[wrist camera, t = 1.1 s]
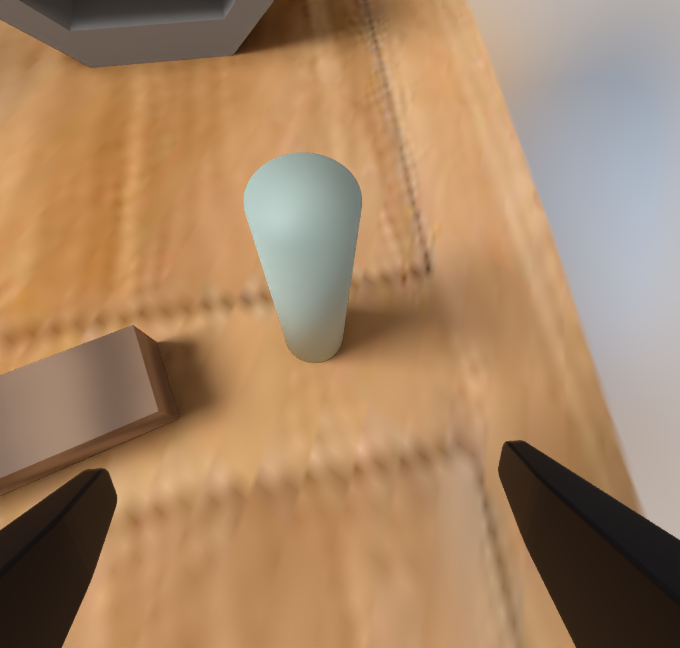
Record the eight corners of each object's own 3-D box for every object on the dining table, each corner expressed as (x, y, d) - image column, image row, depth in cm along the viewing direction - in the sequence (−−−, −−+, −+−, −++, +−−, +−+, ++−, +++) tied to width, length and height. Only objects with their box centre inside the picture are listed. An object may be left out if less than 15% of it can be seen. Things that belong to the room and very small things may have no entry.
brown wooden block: (156, 341, 23) (133, 324, 20) (179, 418, 22) (158, 411, 19) (-140, 457, 20) (-215, 456, 18) (-137, 554, 19) (-217, 570, 16)
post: (352, 348, 24) (382, 225, 11) (298, 372, 23) (268, 267, 11) (328, 300, 25) (332, 139, 12) (276, 321, 24) (227, 173, 12)
